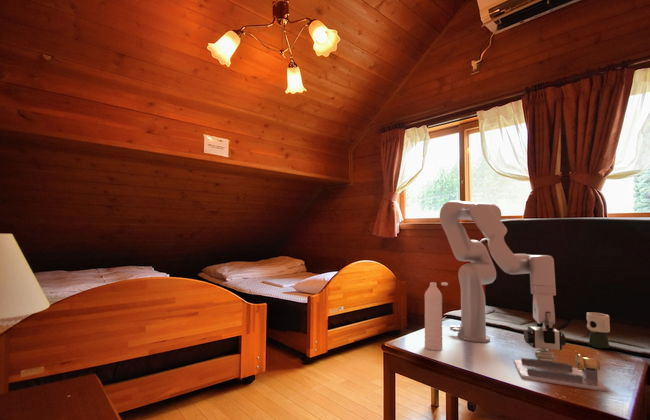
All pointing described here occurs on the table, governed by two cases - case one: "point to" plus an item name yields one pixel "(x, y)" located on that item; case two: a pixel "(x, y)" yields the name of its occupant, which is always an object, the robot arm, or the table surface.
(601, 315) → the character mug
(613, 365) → the table surface
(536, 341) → the pneumatic valve
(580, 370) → the manifold plate
